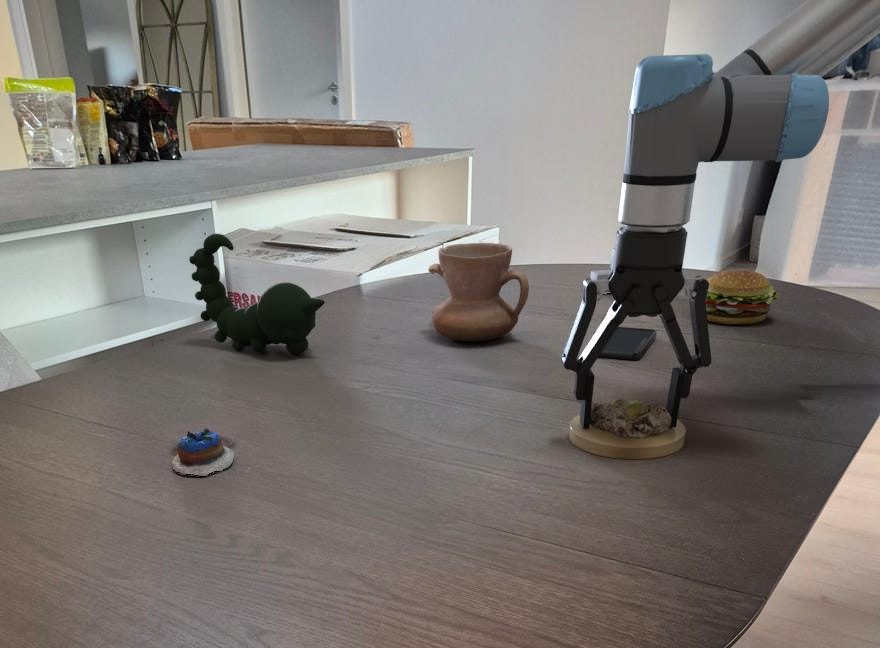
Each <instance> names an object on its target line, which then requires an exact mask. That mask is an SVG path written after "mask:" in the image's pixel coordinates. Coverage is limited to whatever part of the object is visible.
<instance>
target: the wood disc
mask: <svg viewBox="0 0 880 648" xmlns="http://www.w3.org/2000/svg"><path fill="white" fill-rule="evenodd" d="M686 433H687V428H686V426H685V424H684V423H683V422H682V421H680V419H677V425H676V427H668V429H667V430H664V431H663V432H661V433H660V432H659V433H655V434H649V435H648V436H646V437H645V438H638V437H632V438H629V437H622V436H619V435H617V434H616V433H614V432H611V431H606V430H601V429H599V428H597V427H596V428H595V427H593V426H592V425H590V426H589V429H583V428H582V426H581V423H580V414H577V415H575V416H574V417H573V418H572V419H571V420H570V423H569V431H568V438H569V440H570V443H572V444H573V445H574V446H575V447H577V448H579V449H580V450H583V451H585V452H586V453H590V454H593V455H597V456H601V457H605V458H612V459H619V460H649V459H650V460H651V459H657V458H662V457H667V456H670V455H673V454H674V453H676V452H678V451H680V450H681V449H682V448H683V447H684V444H685V439H686Z"/></svg>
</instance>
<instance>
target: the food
mask: <svg viewBox="0 0 880 648" xmlns="http://www.w3.org/2000/svg"><path fill="white" fill-rule="evenodd" d="M706 280H707V281H708V282H709V288H708V292H707V296H706V301H705V303H706V313H707V320H708V321H707V322H711V321H712V322H711V323H714V322H717V323H716V324H721V323H722V325H734V324H735V326H736V325H737V326H738V325H739V326H742V324H743V325H752V324H756V323H760V322H763V321H764V320H765V319H766V318H767V316H768V313H769V312H770V311H771V304H772V302H773V301H775V300H779V299H780V297H779V295H778V291H777V290H774V289H775V288H774V287H775V286H774V285H773V284H772V283H771V282H770V280H769V279H768V278H767V277H766V276H765V275H763V274H762V273H759V272H756V271H753V270H749V269H728V270H727V269H726V270H723V271H719V272H716V273H714V274H712V275H711V276H710V277H708V278H707V279H706Z"/></svg>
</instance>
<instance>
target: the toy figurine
mask: <svg viewBox="0 0 880 648" xmlns="http://www.w3.org/2000/svg"><path fill="white" fill-rule="evenodd" d="M222 247H223V248H227V249H228V250H230V251H233V250H234V249H235V248H234V245H233V242H232V241H231V240H230V239H229V238H228V237H227V236H225V235H224V234H222V233H211V234H209V235H208V236H207V237H206V238H205V239H204V241H203V244H202V247H200V248H197V249H196V250H194V253H193V254H192V255H191V256H189V259H188V260H189V263H190V264H191V265H194V266H195V268H196V270H195V271H193V272H192V273H191V279H192V281H194V282H198V283H199V285H201V286H200V291H195V293H194V297H195V299H196V300H197V301H203V302H204V303H206V304H205V310H202V311H201V313H200V319H201V320H202V321H203V322H210V320H211V321H212V322H215V323H216V327H217V329H218V330H216V331H215V332H214V339H215V341H216V342H218V343H220V344H222V343H224V342H226V341H227V339H228V338H229V339H231V340H232V344H231V345H232V348H233V350H234V351H235V352H242V351H244V349H245V347H247V348H248V347H251V349H252V350H253V351H255V352H258V353H261V352H263V351H264V350H265V349H266V348H267V346H268V345H276V346H277V345H285V349H286V351H287V353H288V354H290V355H292V356H296V355H297V356H300V355H301V354H305V352H306V351H307V350H308V348H309V341H308V338H307V337H308V336H309V335H310V334H311V332H312V330H313V329H315V327H316V315H317V313H316V312H317V311H318V310H320V309H321V307H323V306H324V305H325V303H326V302H325V300H324V299H321V298H315V297H311V295H310V294H309V293H308V291H306V290H305V289H304V288H303V287H301V286H300V285H298V284H295V283H292V282H288V281H282V282H277V283H274V284H273V285H271V286H269V287H268V288H266V289H265V291H264V292H263V293H262V294H261V295H260V297H259V299H258V301H256V302H253V303H252V304H250V305H249V306H248V307H240V308H239V307H237V306H234V303H233V301H232V300H231V298H230V297H228V295H227V290H226V286H225V284H224V283H223V282H222V281H220V280H221V272H220V270H219V267H218V266H217V265H216V264H215V256H214V254H216V253H217V252H218V251H219V249H220V248H222ZM241 350H242V351H241ZM299 354H300V355H299Z"/></svg>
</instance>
